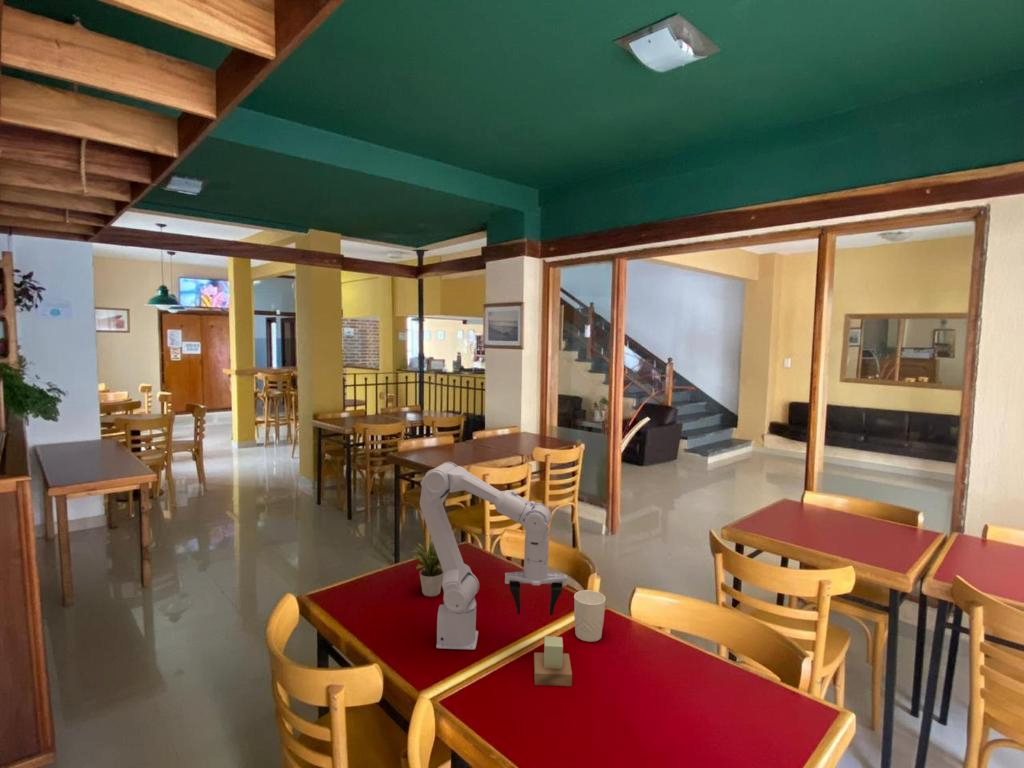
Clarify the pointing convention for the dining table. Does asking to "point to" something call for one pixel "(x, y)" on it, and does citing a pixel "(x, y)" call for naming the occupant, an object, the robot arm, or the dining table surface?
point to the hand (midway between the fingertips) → (534, 612)
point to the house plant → (430, 570)
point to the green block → (553, 652)
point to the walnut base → (552, 672)
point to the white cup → (589, 615)
